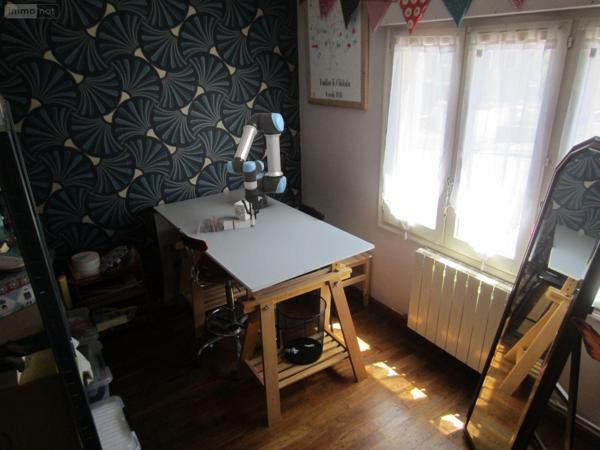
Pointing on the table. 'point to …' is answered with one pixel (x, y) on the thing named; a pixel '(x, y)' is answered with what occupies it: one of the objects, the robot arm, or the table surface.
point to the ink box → (241, 210)
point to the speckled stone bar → (236, 224)
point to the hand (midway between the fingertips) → (253, 224)
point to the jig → (208, 224)
